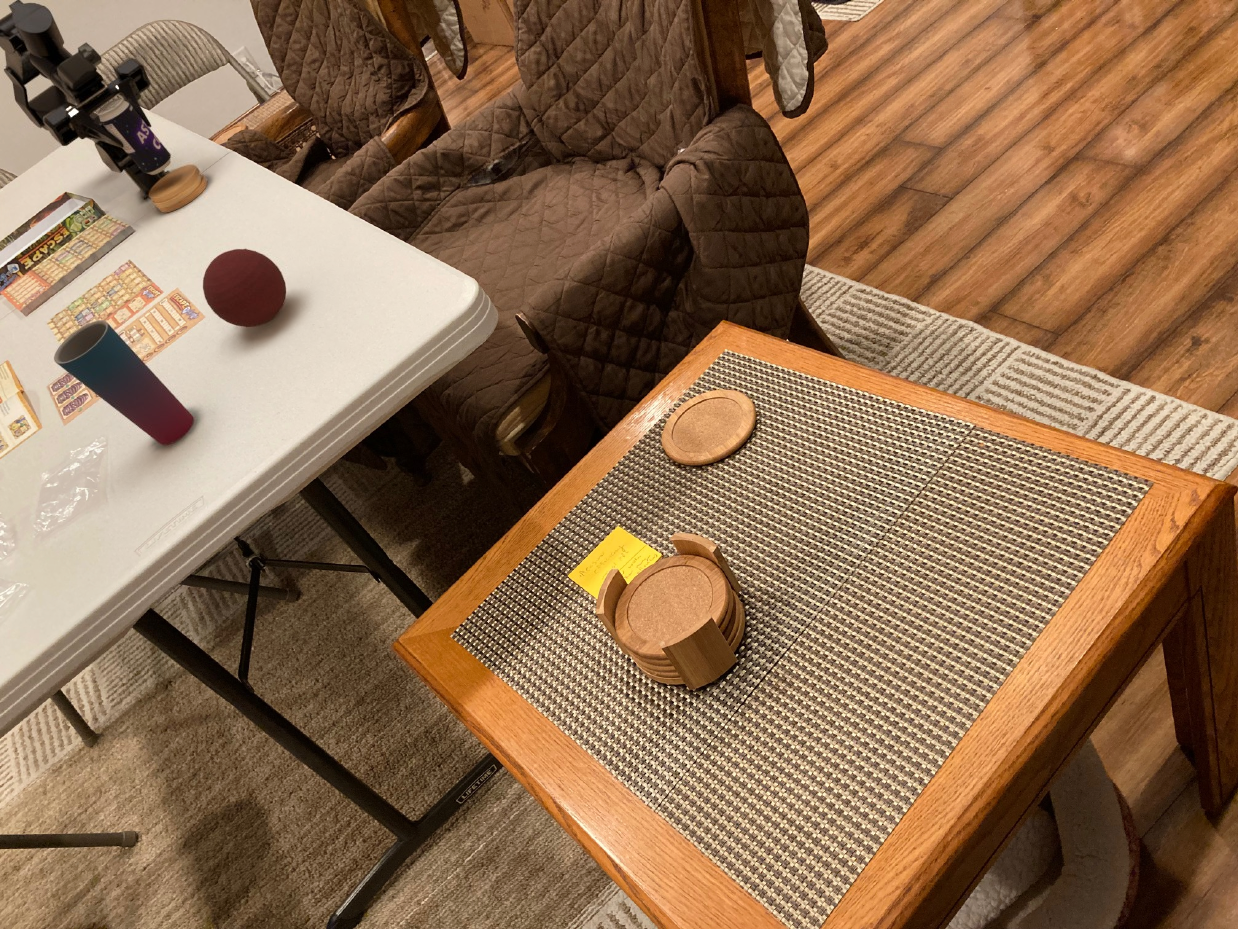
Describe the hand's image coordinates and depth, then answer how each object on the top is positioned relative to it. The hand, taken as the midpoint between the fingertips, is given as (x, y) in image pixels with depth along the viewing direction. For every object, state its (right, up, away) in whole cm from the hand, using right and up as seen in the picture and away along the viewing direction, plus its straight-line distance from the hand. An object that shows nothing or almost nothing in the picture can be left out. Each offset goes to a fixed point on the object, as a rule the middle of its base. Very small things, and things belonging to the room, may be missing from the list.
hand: (136, 135), depth 148 cm
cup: (+28, -52, -42) cm, 73 cm away
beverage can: (+1, -4, +6) cm, 7 cm away
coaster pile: (+3, -7, +10) cm, 13 cm away
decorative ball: (+36, -37, -32) cm, 60 cm away
